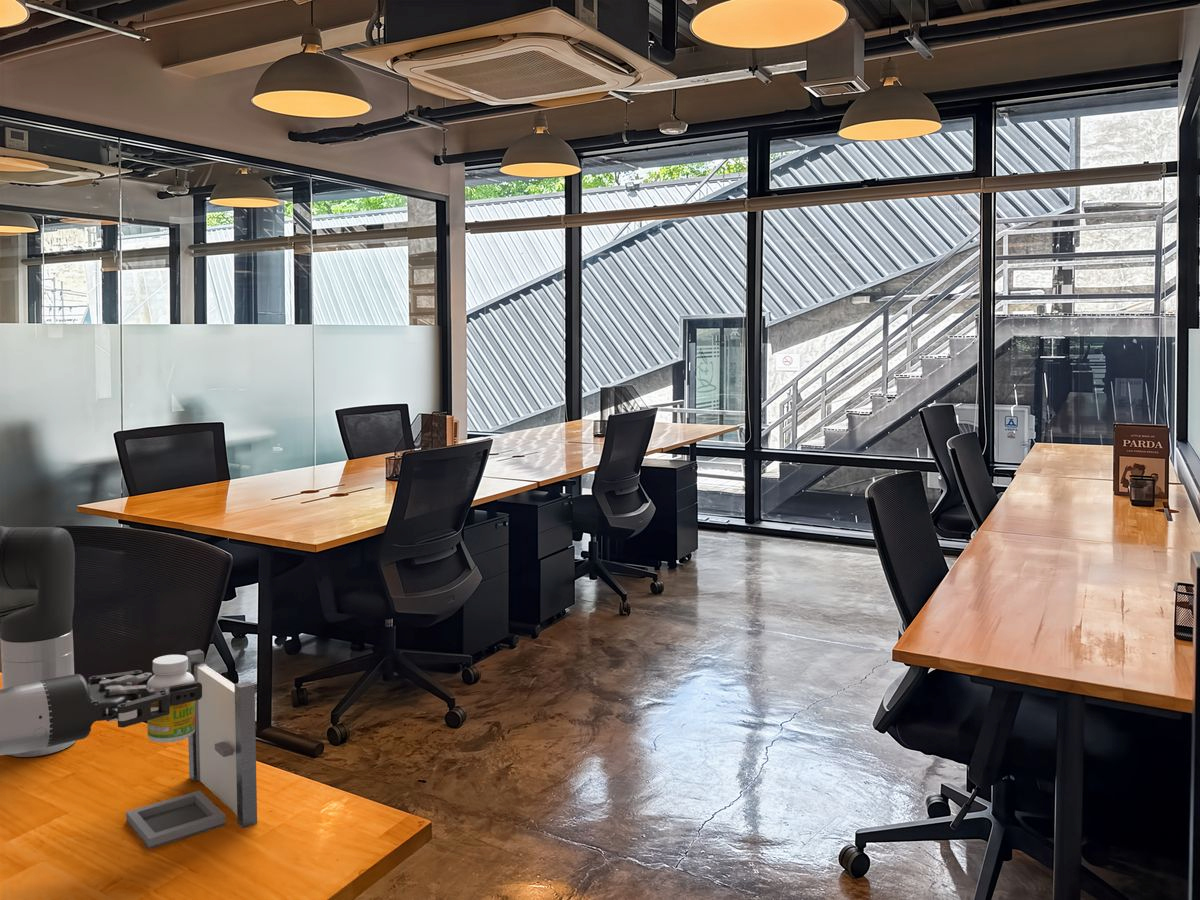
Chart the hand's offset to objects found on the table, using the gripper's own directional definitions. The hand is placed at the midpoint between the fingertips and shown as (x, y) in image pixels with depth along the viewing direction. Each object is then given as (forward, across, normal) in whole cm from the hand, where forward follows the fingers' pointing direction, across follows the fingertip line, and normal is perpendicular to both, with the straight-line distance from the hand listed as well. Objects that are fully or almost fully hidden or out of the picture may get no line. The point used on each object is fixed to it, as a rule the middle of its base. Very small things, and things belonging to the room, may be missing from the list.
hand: (192, 683), depth 117 cm
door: (+4, +3, +17) cm, 18 cm away
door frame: (+5, +2, +18) cm, 18 cm away
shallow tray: (-2, 0, +18) cm, 18 cm away
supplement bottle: (-3, 0, +6) cm, 7 cm away
